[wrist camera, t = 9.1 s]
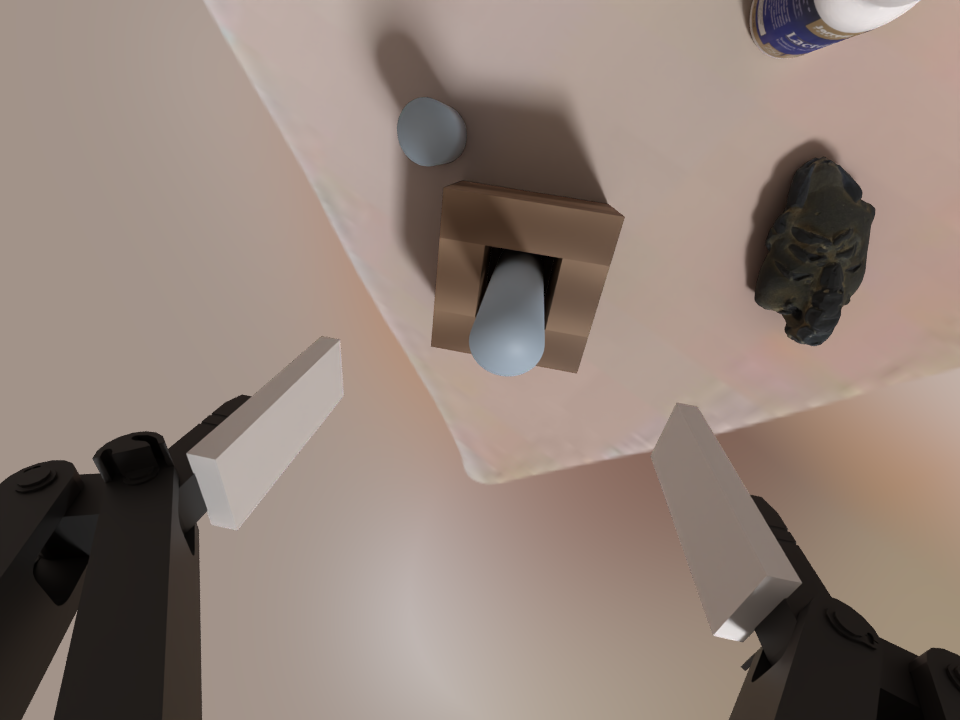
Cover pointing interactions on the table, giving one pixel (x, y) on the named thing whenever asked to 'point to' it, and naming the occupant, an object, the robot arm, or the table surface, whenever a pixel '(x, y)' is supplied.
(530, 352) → the long dowel
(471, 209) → the sleeve block
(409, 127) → the grey rounded cylinder
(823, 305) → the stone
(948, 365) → the table surface
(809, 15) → the pill bottle
